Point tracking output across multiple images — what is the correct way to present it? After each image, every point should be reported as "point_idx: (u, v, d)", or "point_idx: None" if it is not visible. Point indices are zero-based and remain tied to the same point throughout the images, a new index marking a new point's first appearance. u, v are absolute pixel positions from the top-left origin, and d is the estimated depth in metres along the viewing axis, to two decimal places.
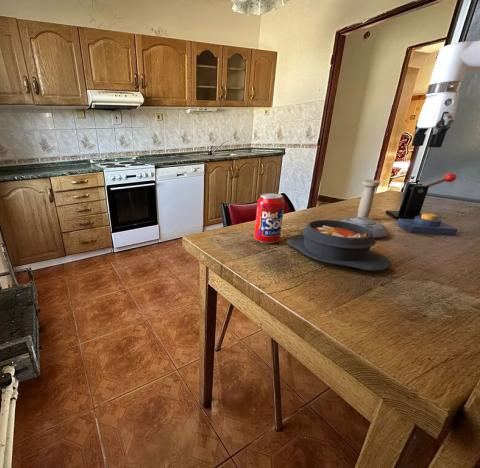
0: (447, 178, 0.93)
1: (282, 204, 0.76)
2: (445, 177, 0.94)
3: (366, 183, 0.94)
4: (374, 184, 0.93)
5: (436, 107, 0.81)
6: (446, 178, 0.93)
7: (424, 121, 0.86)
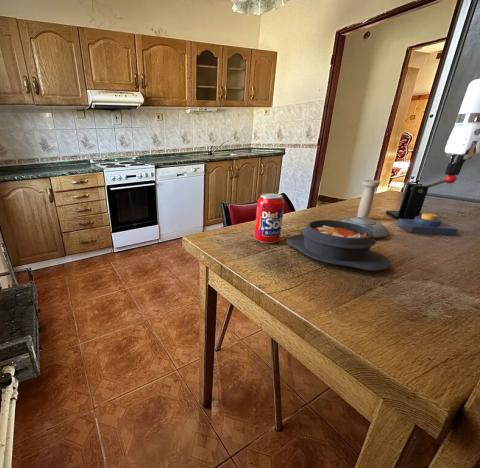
0: (447, 179, 0.93)
1: (282, 204, 0.76)
2: (445, 178, 0.94)
3: (366, 183, 0.94)
4: (374, 184, 0.93)
5: (466, 136, 0.86)
6: (447, 179, 0.94)
7: (452, 148, 0.91)
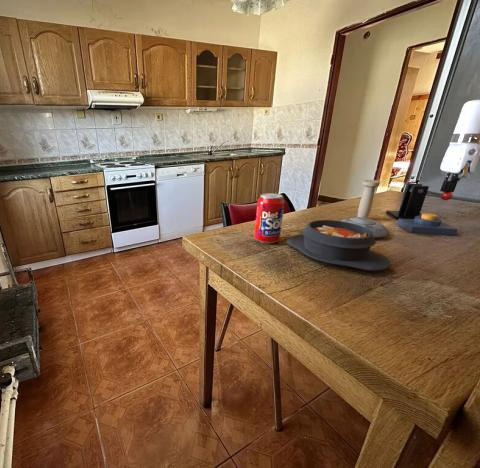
0: (445, 194, 0.95)
1: (282, 204, 0.76)
2: (444, 193, 0.96)
3: (366, 183, 0.94)
4: (374, 184, 0.93)
5: (460, 155, 0.88)
6: (444, 194, 0.95)
7: (448, 166, 0.93)
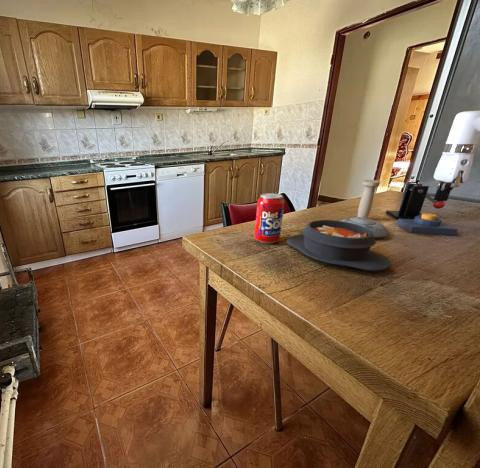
0: (438, 202, 0.97)
1: (282, 204, 0.76)
2: (438, 201, 0.97)
3: (366, 183, 0.94)
4: (374, 184, 0.93)
5: (452, 165, 0.90)
6: (438, 202, 0.97)
7: (441, 175, 0.94)
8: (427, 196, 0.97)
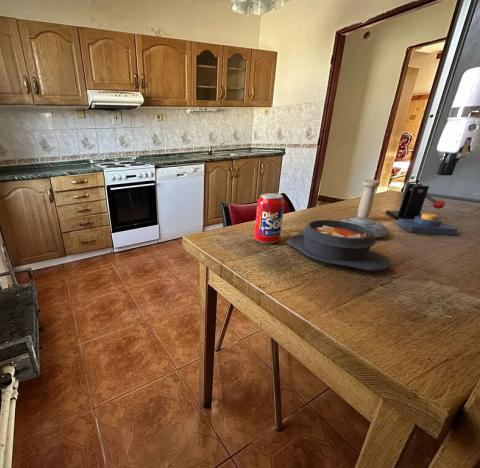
0: (438, 202, 0.97)
1: (282, 204, 0.76)
2: (438, 201, 0.97)
3: (366, 183, 0.94)
4: (374, 184, 0.93)
5: (459, 132, 0.77)
6: (438, 202, 0.97)
7: (445, 145, 0.82)
8: (427, 196, 0.97)
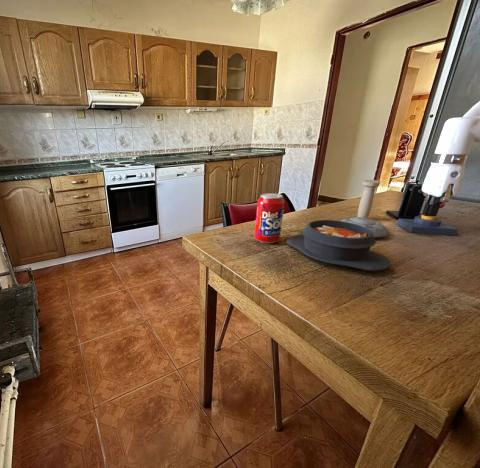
0: None
1: (282, 204, 0.76)
2: None
3: (366, 183, 0.94)
4: (374, 184, 0.93)
5: (442, 178, 0.80)
6: None
7: (429, 188, 0.85)
8: None
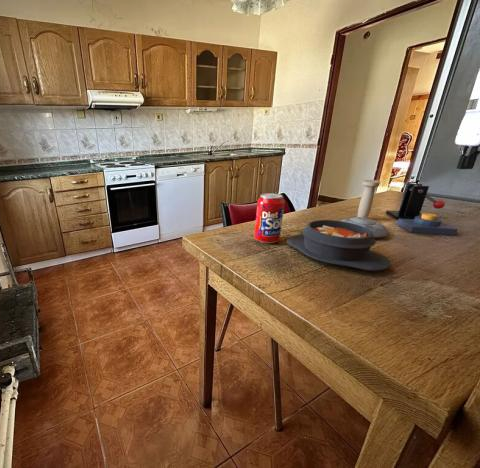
0: (438, 202, 0.97)
1: (282, 204, 0.76)
2: (438, 201, 0.97)
3: (366, 183, 0.94)
4: (374, 184, 0.93)
5: None
6: (438, 202, 0.97)
7: (464, 138, 0.80)
8: (427, 196, 0.97)
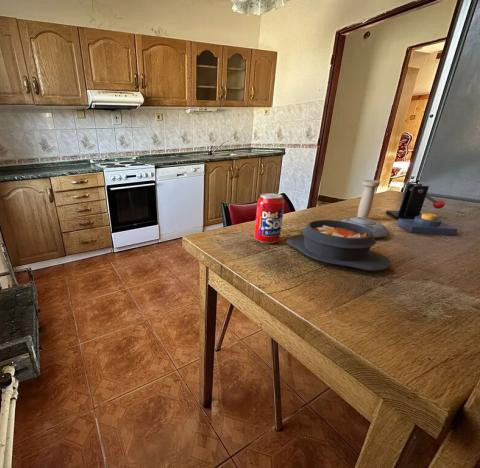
0: (438, 202, 0.97)
1: (282, 204, 0.76)
2: (438, 201, 0.97)
3: (366, 183, 0.94)
4: (374, 184, 0.93)
5: None
6: (438, 202, 0.97)
7: None
8: (427, 196, 0.97)
